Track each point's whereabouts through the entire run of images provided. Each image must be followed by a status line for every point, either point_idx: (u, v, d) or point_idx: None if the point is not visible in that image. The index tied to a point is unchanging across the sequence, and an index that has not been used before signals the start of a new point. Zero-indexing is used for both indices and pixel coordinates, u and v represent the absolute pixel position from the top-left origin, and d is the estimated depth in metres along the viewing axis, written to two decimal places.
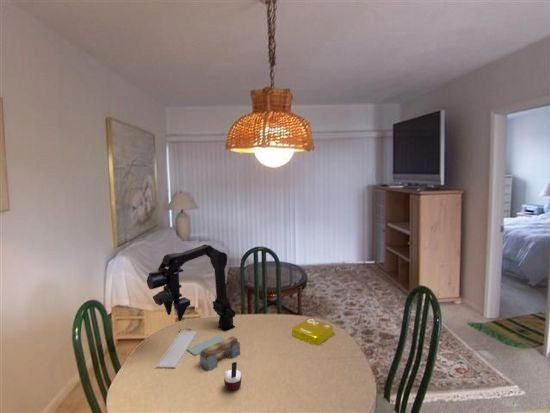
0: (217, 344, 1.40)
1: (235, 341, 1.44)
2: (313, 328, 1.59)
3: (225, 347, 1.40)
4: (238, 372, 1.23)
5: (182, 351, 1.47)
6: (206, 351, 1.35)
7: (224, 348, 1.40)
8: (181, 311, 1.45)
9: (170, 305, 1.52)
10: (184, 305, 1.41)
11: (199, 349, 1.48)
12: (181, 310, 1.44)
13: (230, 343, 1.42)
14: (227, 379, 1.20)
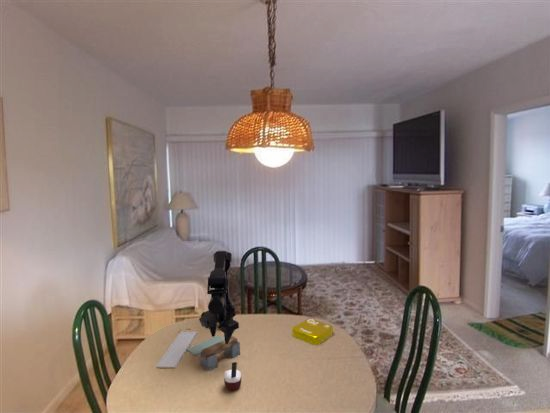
0: (217, 344, 1.40)
1: (235, 341, 1.44)
2: (313, 328, 1.59)
3: (225, 347, 1.40)
4: (238, 372, 1.23)
5: (182, 351, 1.47)
6: (206, 351, 1.35)
7: (224, 348, 1.40)
8: (229, 334, 1.36)
9: (214, 326, 1.44)
10: (233, 328, 1.33)
11: (199, 349, 1.48)
12: (229, 333, 1.36)
13: (230, 343, 1.42)
14: (227, 379, 1.20)
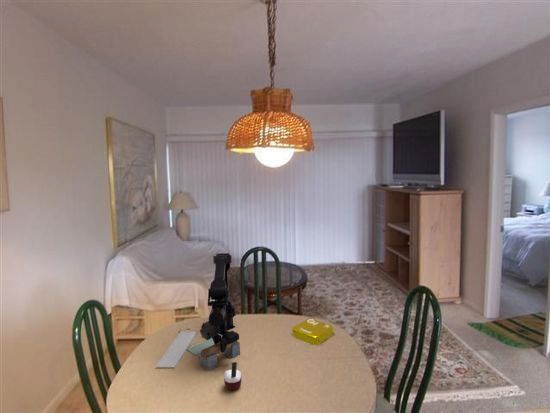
0: (217, 344, 1.40)
1: (235, 341, 1.44)
2: (313, 328, 1.59)
3: None
4: (238, 372, 1.23)
5: (182, 351, 1.47)
6: (206, 351, 1.35)
7: None
8: (225, 343, 1.38)
9: None
10: (233, 340, 1.33)
11: (199, 349, 1.48)
12: None
13: None
14: (227, 379, 1.20)
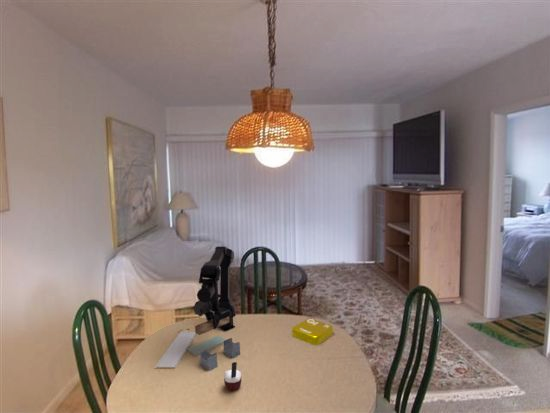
0: (209, 321, 1.46)
1: (227, 318, 1.51)
2: (313, 328, 1.59)
3: None
4: (238, 372, 1.23)
5: (182, 351, 1.46)
6: (199, 326, 1.41)
7: None
8: (217, 319, 1.45)
9: None
10: (225, 316, 1.40)
11: (199, 349, 1.48)
12: (217, 318, 1.45)
13: (222, 320, 1.49)
14: (227, 379, 1.20)
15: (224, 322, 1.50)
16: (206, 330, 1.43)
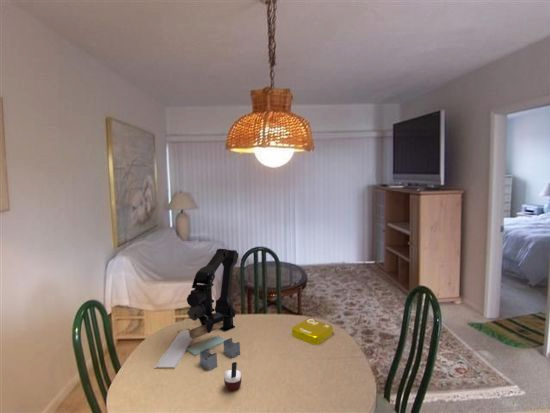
0: (203, 325, 1.51)
1: (221, 323, 1.56)
2: (313, 328, 1.59)
3: None
4: (238, 372, 1.23)
5: (181, 351, 1.46)
6: (193, 331, 1.46)
7: None
8: (211, 324, 1.50)
9: None
10: (218, 320, 1.45)
11: (199, 349, 1.48)
12: None
13: (216, 324, 1.54)
14: (227, 379, 1.20)
15: (218, 326, 1.55)
16: (200, 334, 1.48)
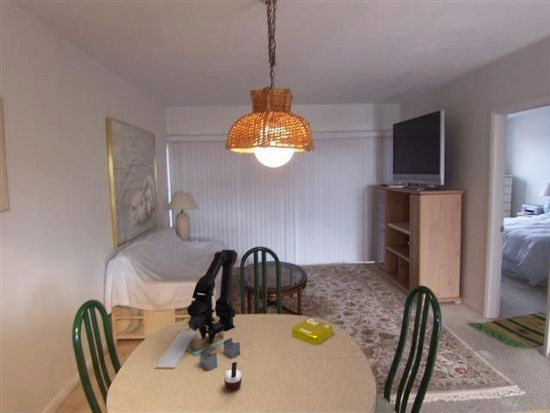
0: (204, 338, 1.52)
1: (221, 336, 1.56)
2: (313, 328, 1.59)
3: None
4: (238, 372, 1.23)
5: (181, 351, 1.46)
6: (194, 344, 1.47)
7: None
8: (212, 334, 1.50)
9: (205, 330, 1.55)
10: (218, 330, 1.45)
11: None
12: None
13: (216, 337, 1.54)
14: (227, 379, 1.20)
15: (218, 339, 1.55)
16: (200, 347, 1.48)
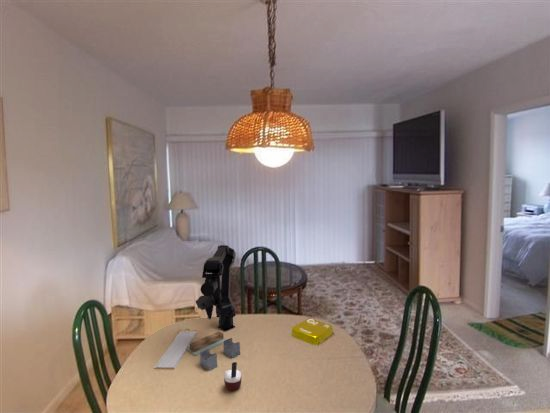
0: (204, 338, 1.52)
1: (221, 336, 1.56)
2: (313, 328, 1.59)
3: (211, 341, 1.53)
4: (238, 372, 1.23)
5: (181, 351, 1.46)
6: (194, 344, 1.47)
7: (210, 342, 1.52)
8: (223, 316, 1.46)
9: (211, 309, 1.54)
10: (226, 310, 1.43)
11: None
12: (223, 315, 1.46)
13: (216, 337, 1.54)
14: (227, 379, 1.20)
15: (218, 339, 1.55)
16: (200, 347, 1.48)
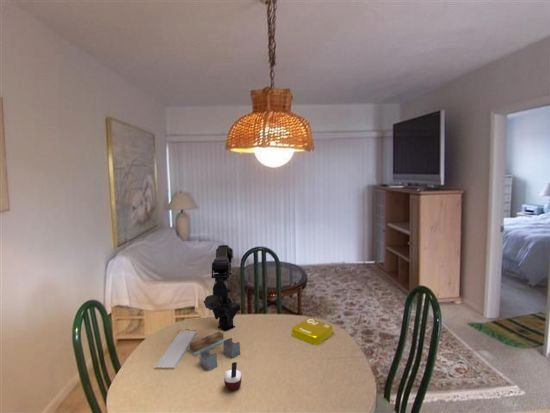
0: (204, 338, 1.52)
1: (221, 336, 1.56)
2: (313, 328, 1.59)
3: (211, 341, 1.53)
4: (238, 372, 1.23)
5: (181, 352, 1.46)
6: (194, 344, 1.47)
7: (210, 342, 1.52)
8: (231, 315, 1.45)
9: (218, 309, 1.53)
10: (235, 310, 1.42)
11: None
12: (231, 314, 1.45)
13: (216, 337, 1.54)
14: (227, 379, 1.20)
15: (218, 339, 1.55)
16: (200, 347, 1.48)
